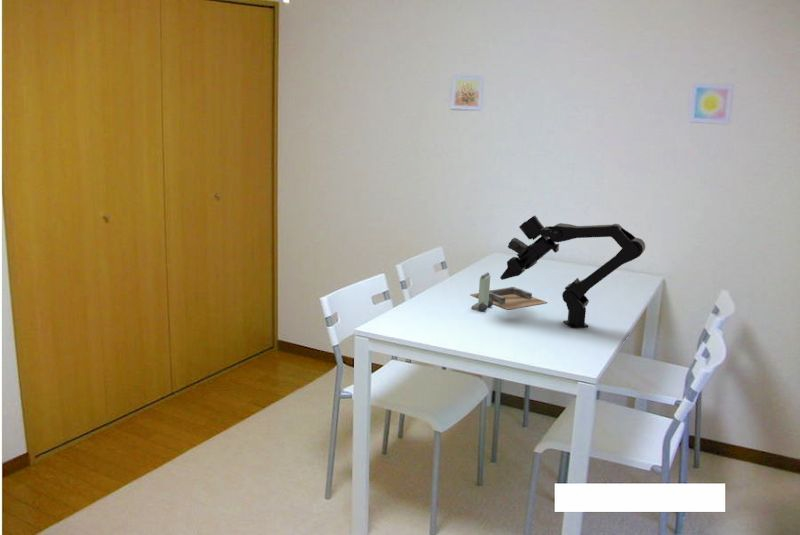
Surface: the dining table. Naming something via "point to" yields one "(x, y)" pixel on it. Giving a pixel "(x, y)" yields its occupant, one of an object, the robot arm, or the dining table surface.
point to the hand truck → (483, 294)
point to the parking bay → (512, 298)
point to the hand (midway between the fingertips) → (505, 275)
